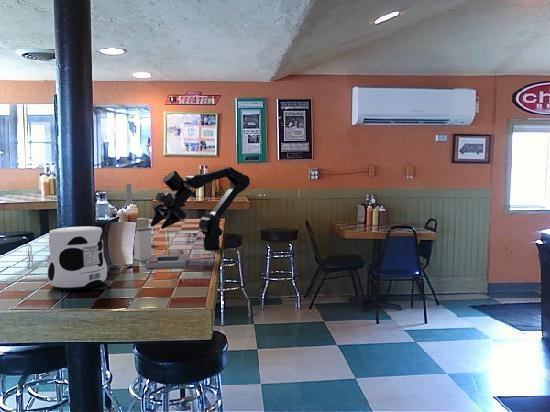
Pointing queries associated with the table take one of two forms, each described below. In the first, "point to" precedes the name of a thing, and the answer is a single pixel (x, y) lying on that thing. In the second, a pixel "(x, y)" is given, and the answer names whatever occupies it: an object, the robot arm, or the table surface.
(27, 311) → the table surface
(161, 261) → the socket plate
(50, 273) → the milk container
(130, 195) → the bottle
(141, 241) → the plug
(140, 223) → the skincare box
